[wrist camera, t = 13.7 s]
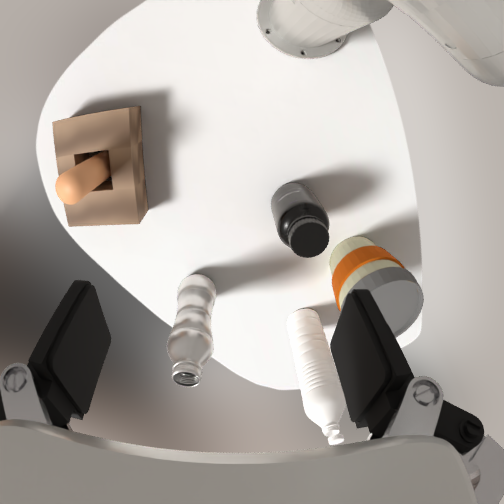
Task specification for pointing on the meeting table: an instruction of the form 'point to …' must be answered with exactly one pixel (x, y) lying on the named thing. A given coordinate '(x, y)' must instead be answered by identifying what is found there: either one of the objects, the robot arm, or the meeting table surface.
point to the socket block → (121, 162)
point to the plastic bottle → (192, 330)
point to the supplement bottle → (300, 219)
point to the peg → (83, 178)
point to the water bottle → (316, 373)
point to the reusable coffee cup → (376, 281)
